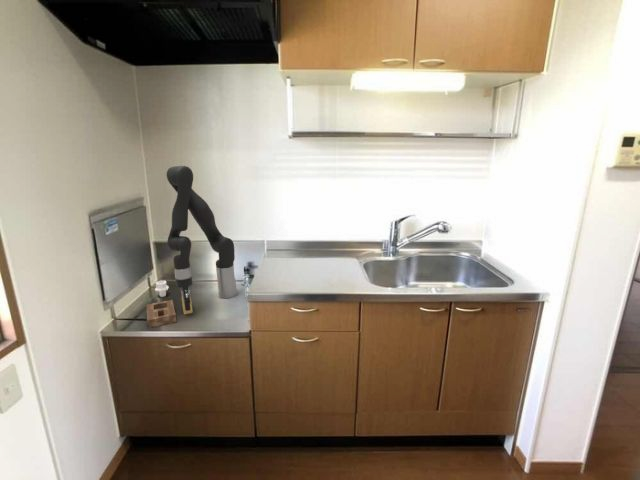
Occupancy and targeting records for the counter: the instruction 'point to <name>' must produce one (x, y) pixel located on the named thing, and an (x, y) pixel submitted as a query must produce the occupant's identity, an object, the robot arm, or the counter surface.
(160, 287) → the pipe fitting
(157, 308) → the socket block
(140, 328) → the counter surface
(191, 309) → the square peg
